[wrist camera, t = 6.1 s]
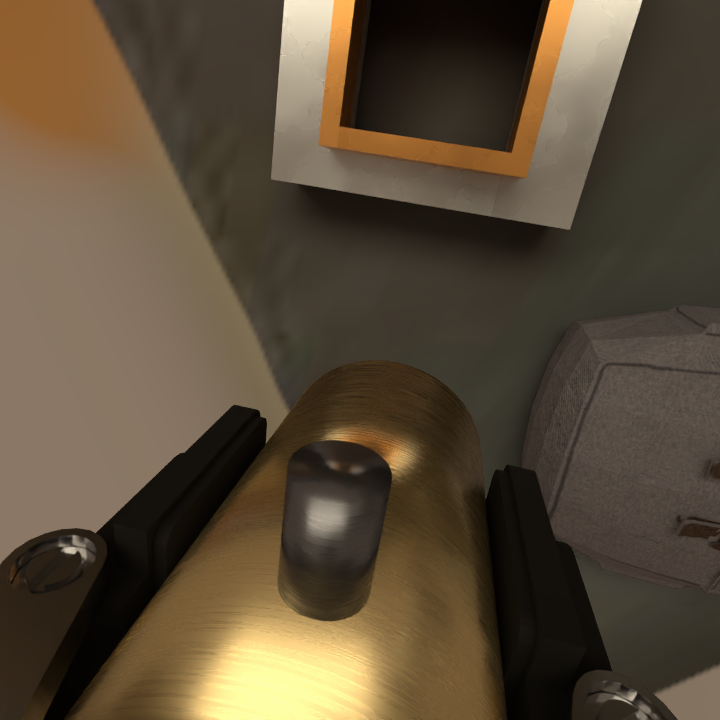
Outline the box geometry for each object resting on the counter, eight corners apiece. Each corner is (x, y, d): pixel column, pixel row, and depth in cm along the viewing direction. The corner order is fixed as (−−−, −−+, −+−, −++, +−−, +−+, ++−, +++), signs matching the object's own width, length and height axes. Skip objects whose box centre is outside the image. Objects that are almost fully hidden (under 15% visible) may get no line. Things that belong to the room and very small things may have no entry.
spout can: (457, 548, 12) (461, 1227, 4) (282, 504, 13) (0, 1023, 5) (518, 326, 10) (797, 921, 2) (301, 286, 11) (-192, 605, 3)
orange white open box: (636, -64, 19) (712, -166, 14) (550, 224, 24) (582, 233, 18) (322, -94, 21) (277, -197, 15) (296, 181, 25) (254, 177, 20)
